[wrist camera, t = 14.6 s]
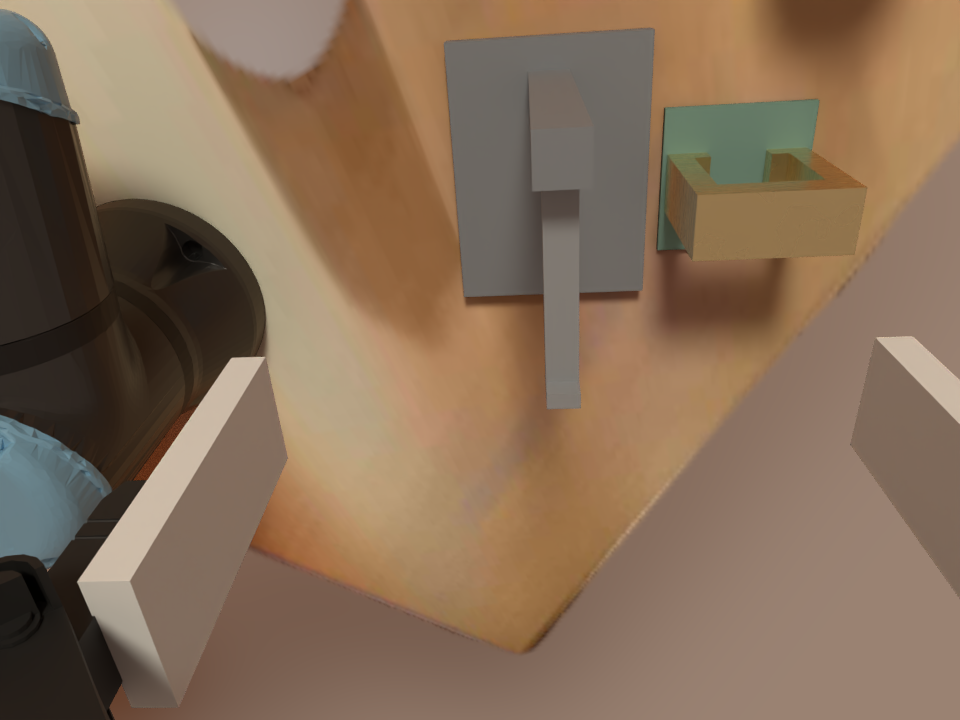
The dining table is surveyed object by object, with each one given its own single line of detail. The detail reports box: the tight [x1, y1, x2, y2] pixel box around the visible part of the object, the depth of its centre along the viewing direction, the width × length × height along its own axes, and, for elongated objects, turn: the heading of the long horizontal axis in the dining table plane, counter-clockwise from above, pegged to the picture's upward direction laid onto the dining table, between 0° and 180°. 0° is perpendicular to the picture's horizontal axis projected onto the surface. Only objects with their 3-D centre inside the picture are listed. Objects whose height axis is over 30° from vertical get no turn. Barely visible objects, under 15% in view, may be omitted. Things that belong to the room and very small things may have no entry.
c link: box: [664, 147, 867, 261], centre depth 42 cm, size 8×4×9 cm, turn 94°
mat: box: [657, 99, 819, 250], centre depth 46 cm, size 9×9×1 cm
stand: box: [444, 28, 655, 409], centre depth 39 cm, size 12×16×18 cm
